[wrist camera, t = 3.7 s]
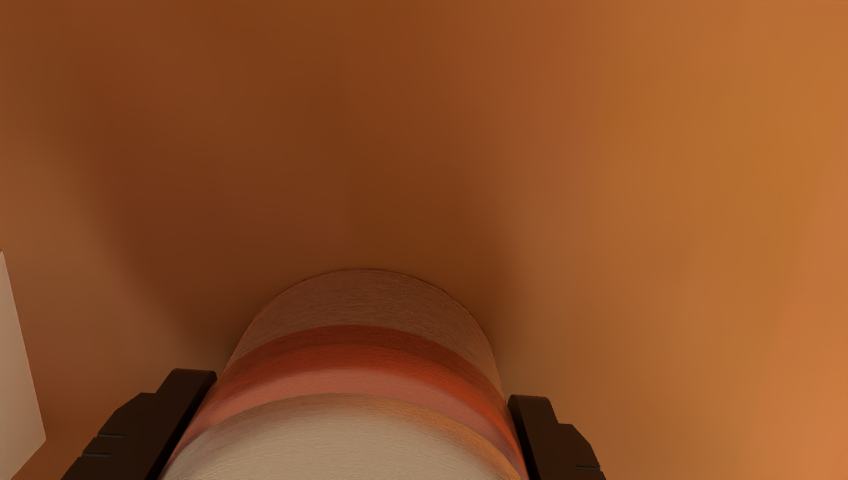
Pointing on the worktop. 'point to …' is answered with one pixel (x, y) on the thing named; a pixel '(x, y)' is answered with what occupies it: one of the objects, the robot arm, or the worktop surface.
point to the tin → (355, 391)
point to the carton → (15, 389)
